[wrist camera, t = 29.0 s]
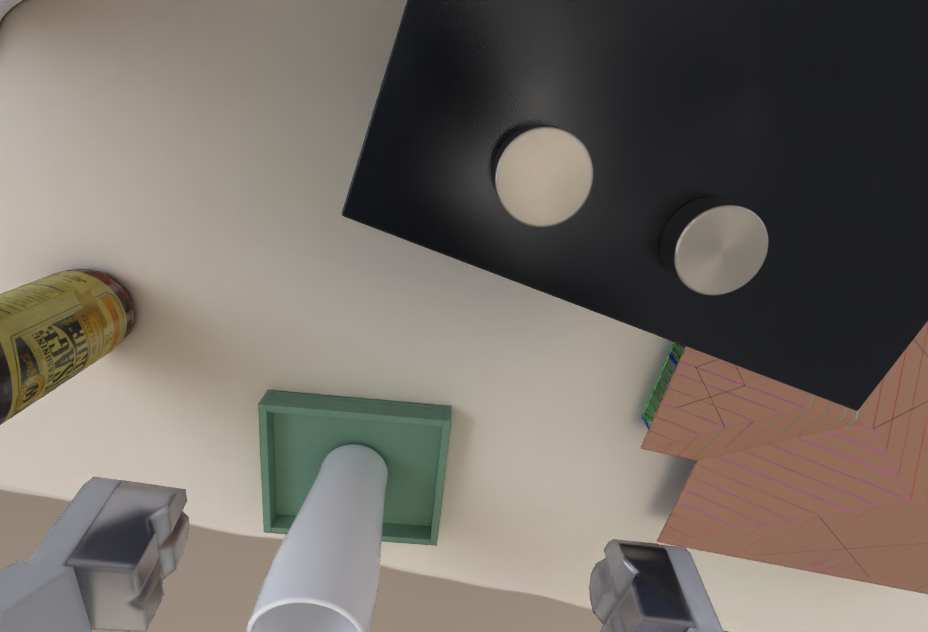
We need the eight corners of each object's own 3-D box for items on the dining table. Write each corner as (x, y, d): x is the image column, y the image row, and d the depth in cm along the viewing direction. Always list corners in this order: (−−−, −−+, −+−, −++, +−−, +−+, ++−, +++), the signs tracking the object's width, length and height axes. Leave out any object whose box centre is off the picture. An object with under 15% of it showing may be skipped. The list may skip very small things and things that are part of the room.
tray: (272, 514, 45) (263, 532, 44) (267, 389, 41) (257, 404, 39) (437, 527, 46) (436, 545, 44) (451, 406, 42) (450, 421, 40)
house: (939, 571, 48) (1028, 658, 41) (594, 502, 45) (621, 583, 38) (1111, 349, 40) (1262, 407, 32) (703, 246, 37) (765, 284, 29)
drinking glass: (319, 502, 44) (254, 686, 30) (308, 433, 42) (232, 600, 28) (400, 500, 44) (373, 683, 30) (394, 431, 42) (361, 597, 28)
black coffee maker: (642, 243, 37) (886, 434, 16) (410, 149, 34) (330, 225, 13) (755, 30, 32) (1325, -105, 11) (494, -97, 30) (577, -588, 8)
